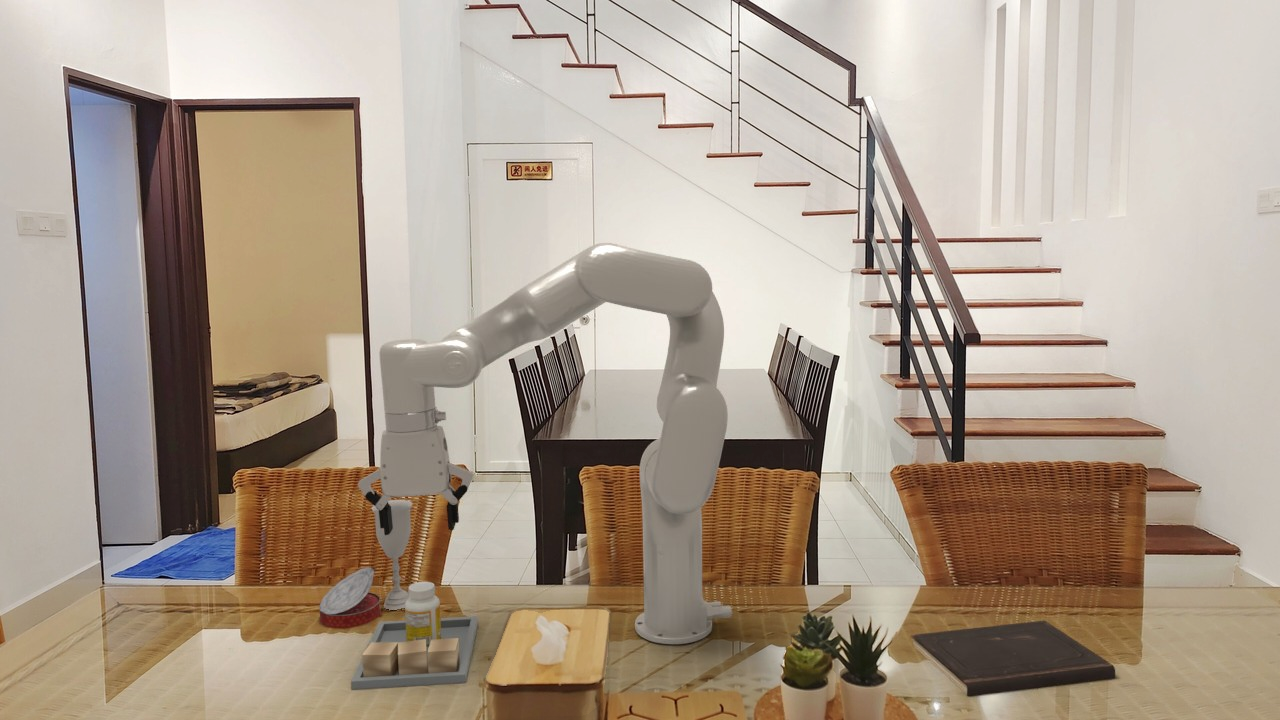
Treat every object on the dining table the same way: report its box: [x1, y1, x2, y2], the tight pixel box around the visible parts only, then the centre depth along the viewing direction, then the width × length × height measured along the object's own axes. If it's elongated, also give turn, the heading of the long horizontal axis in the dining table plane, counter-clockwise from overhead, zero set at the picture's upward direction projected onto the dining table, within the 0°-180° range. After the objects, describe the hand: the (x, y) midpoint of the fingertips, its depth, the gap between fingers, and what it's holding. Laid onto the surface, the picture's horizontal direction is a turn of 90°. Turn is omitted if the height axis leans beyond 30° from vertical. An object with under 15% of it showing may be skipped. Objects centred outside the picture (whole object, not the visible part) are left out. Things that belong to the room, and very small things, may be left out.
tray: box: [350, 615, 479, 691], centre depth 135 cm, size 16×20×2 cm
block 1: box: [361, 642, 399, 677], centre depth 129 cm, size 4×4×4 cm
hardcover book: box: [911, 620, 1116, 697], centre depth 131 cm, size 16×23×2 cm
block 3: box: [427, 638, 460, 673], centre depth 130 cm, size 4×4×4 cm
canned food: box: [318, 566, 382, 629], centre depth 150 cm, size 11×10×10 cm
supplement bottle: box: [404, 581, 441, 651], centre depth 138 cm, size 5×5×10 cm
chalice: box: [371, 499, 413, 611], centre depth 154 cm, size 7×7×18 cm
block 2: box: [398, 639, 428, 675], centre depth 129 cm, size 4×4×4 cm
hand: (420, 529), depth 136 cm, fingers open, 9 cm apart
